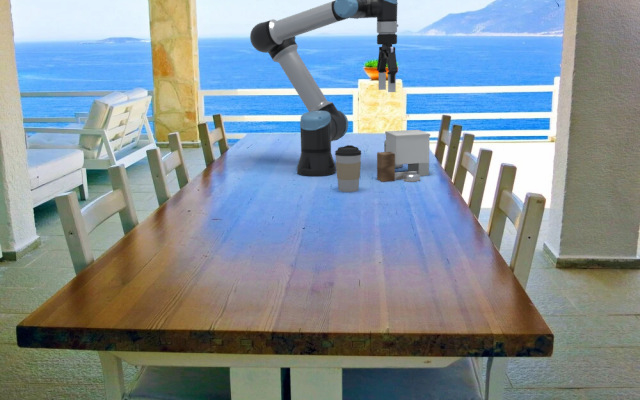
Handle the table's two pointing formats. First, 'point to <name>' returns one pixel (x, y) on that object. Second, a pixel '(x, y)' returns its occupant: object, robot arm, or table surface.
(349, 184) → the coffee cup
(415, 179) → the silver shallow dome
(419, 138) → the cabinet
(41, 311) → the table surface
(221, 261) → the table surface
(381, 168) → the wood grain block
